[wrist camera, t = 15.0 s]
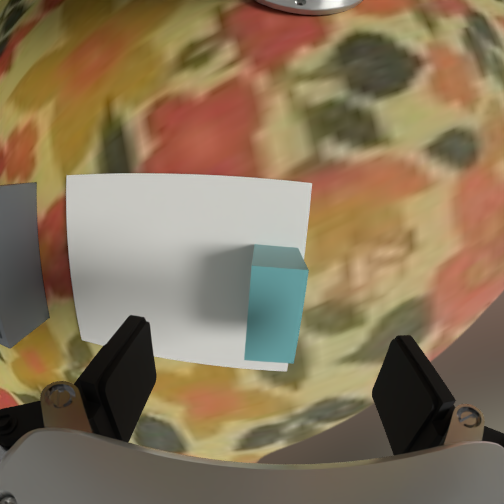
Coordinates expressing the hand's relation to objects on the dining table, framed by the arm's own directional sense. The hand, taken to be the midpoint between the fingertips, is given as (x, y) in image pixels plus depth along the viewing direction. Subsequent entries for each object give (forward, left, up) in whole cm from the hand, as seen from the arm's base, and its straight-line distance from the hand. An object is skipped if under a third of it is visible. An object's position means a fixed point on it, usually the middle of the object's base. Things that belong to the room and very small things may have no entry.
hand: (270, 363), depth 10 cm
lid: (+1, -7, -13) cm, 15 cm away
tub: (+1, -31, -12) cm, 33 cm away
